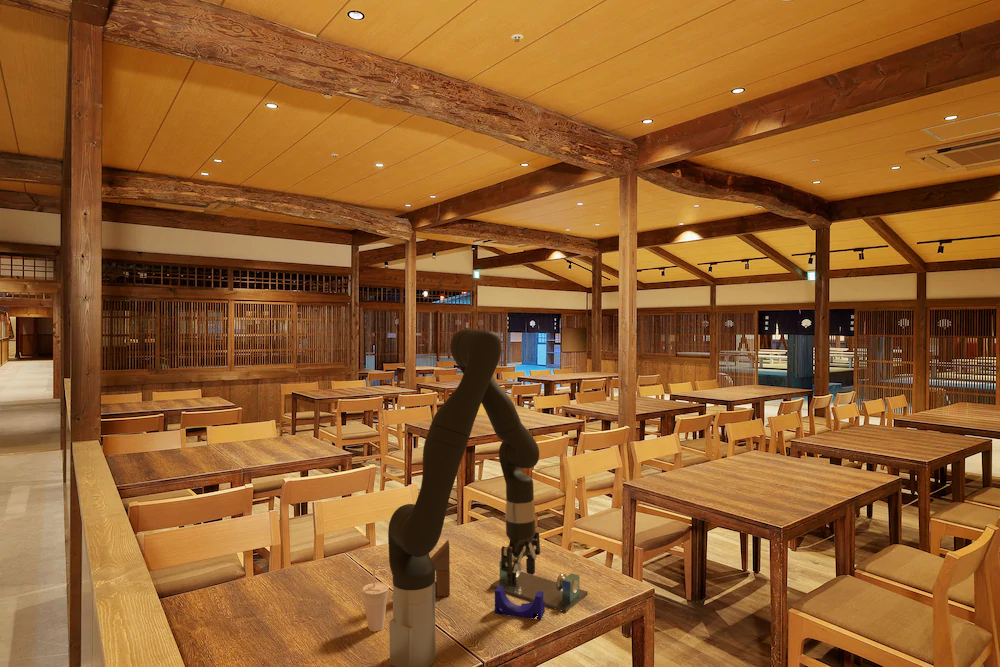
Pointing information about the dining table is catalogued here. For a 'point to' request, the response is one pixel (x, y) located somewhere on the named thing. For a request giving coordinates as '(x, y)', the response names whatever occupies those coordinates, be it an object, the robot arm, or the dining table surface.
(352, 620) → the dining table surface
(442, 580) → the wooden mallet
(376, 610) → the smoothie
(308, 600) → the dining table surface
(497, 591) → the blue curved bracket
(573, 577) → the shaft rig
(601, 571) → the dining table surface
